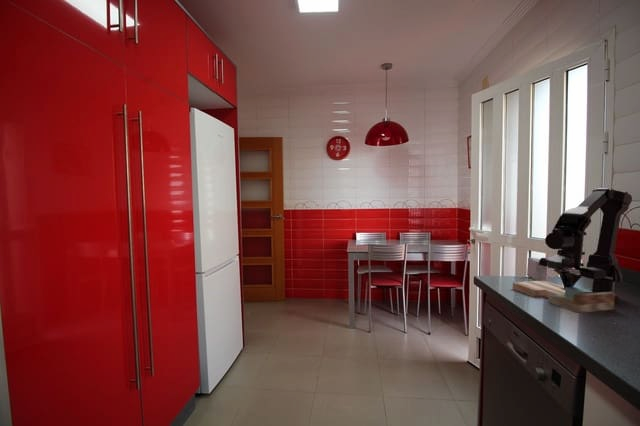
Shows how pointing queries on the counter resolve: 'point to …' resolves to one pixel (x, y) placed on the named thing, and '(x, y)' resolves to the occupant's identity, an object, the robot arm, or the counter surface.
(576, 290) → the teal block
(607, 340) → the counter surface
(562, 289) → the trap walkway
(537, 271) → the medicine box
